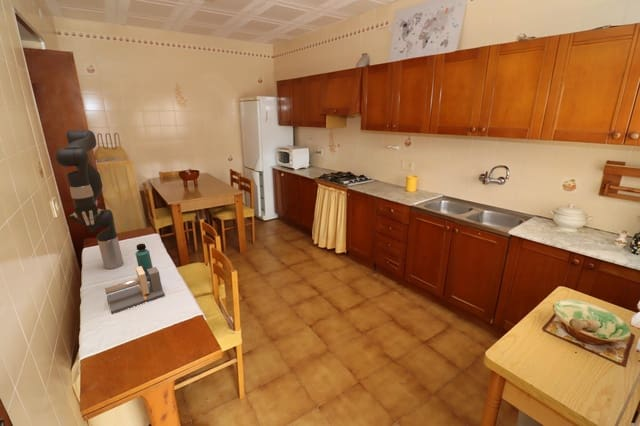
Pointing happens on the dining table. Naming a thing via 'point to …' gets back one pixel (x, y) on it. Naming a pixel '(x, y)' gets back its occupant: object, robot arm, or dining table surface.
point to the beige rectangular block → (142, 280)
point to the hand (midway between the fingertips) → (92, 231)
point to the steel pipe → (124, 285)
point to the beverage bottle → (143, 258)
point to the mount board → (137, 294)
